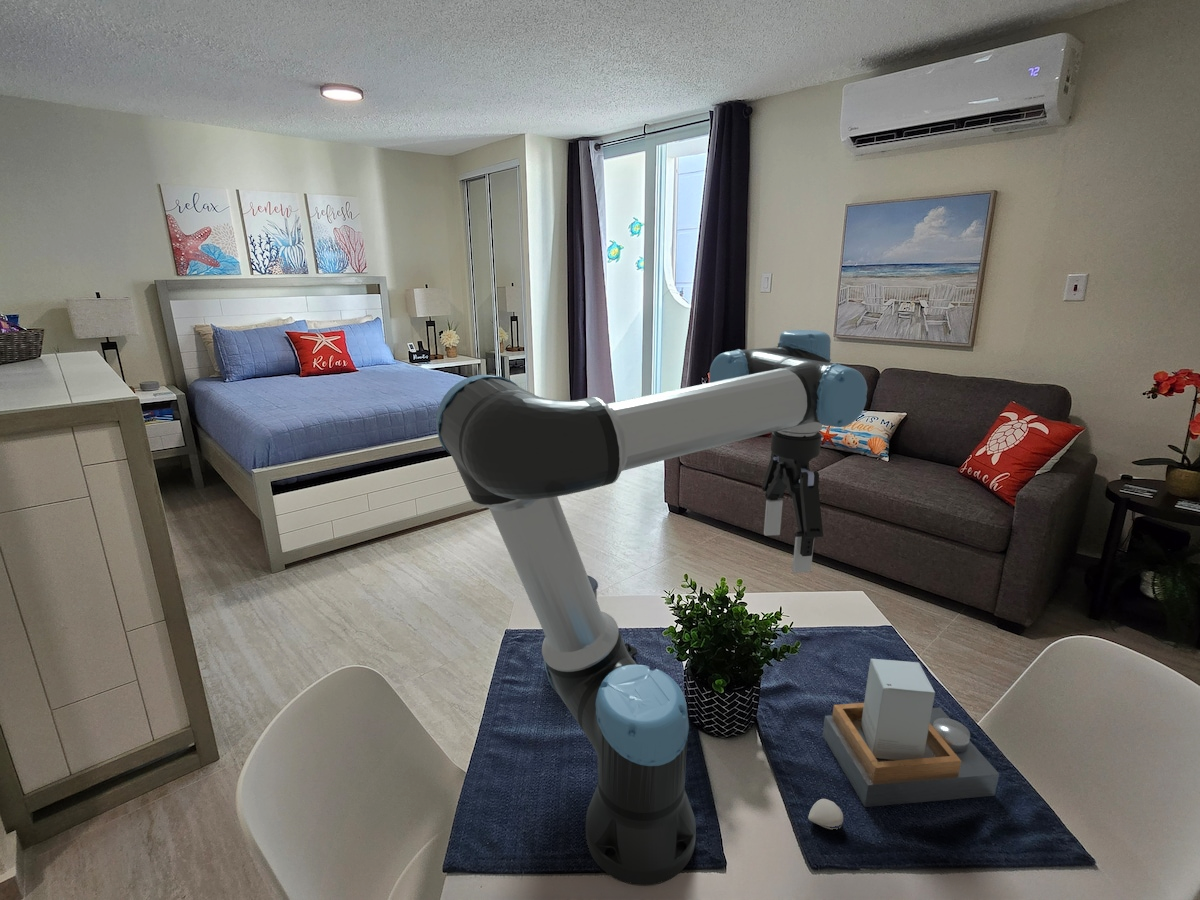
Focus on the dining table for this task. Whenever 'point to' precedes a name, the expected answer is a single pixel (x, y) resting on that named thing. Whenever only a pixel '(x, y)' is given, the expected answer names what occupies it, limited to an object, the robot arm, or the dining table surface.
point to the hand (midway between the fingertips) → (785, 552)
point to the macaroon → (826, 814)
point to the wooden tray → (910, 762)
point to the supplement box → (897, 709)
